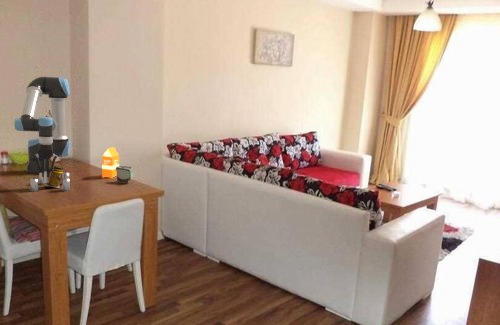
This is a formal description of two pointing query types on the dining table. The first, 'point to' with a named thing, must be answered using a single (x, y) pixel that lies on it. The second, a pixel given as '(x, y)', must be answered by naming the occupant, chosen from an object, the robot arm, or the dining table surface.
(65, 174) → the cylinder
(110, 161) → the orange juice
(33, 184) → the cylinder
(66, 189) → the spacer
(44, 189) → the dining table surface
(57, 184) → the condiment
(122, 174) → the retro television
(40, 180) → the cylinder
